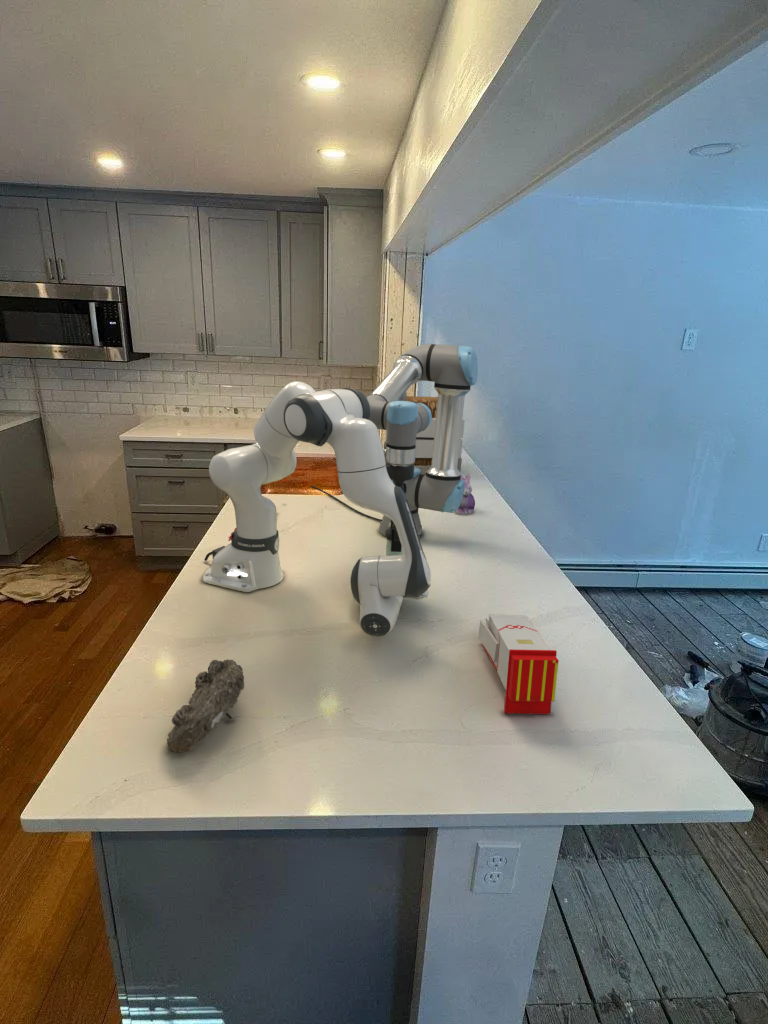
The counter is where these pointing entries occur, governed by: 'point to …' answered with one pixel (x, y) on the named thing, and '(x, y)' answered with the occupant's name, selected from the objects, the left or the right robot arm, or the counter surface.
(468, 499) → the figurine
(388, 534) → the lid
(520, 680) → the toy
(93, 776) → the counter surface
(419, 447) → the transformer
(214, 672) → the fossil
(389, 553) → the pale green bottle
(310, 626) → the counter surface
